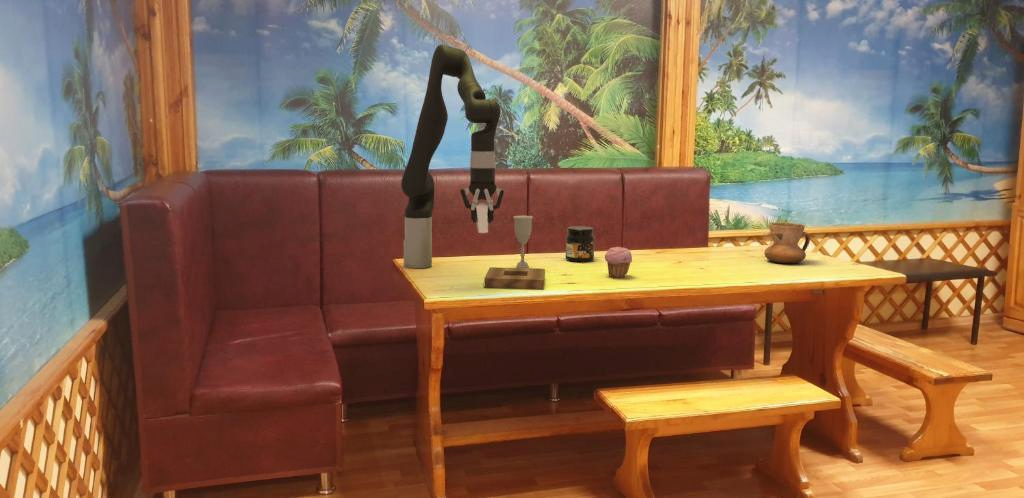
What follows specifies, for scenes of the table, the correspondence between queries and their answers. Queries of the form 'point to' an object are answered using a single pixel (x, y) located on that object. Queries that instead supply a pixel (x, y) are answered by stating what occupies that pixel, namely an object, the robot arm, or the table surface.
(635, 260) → the table surface
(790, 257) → the ceramic jug
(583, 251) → the supplement container
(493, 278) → the well block
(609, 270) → the cupcake
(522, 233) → the chalice
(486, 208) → the milkshake
